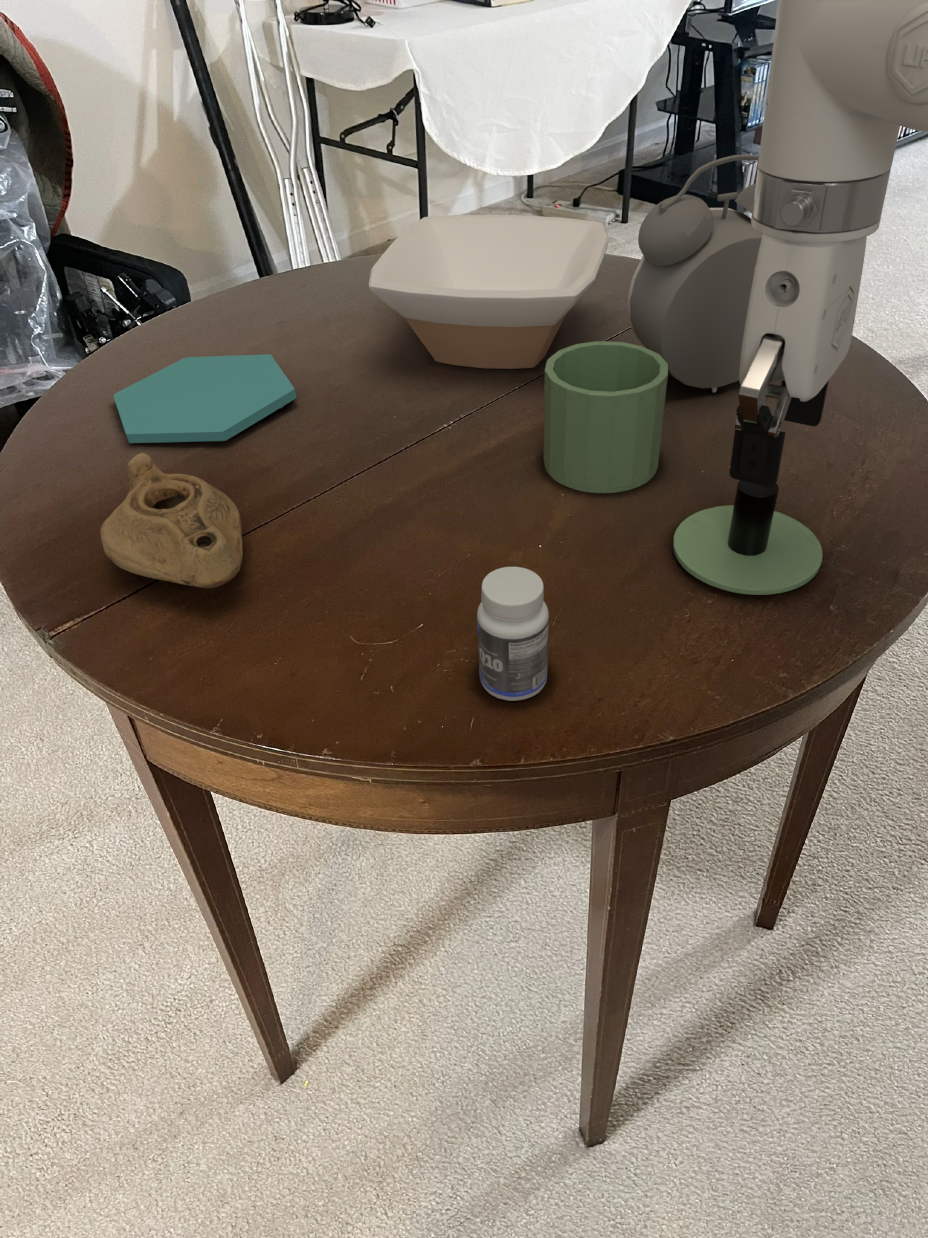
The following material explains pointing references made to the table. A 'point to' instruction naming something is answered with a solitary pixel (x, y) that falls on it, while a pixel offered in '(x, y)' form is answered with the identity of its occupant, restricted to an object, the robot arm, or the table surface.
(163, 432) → the plaque
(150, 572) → the oil lamp
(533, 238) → the bowl
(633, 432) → the cup
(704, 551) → the tin lid
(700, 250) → the alarm clock
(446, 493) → the table surface
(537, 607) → the pill bottle
